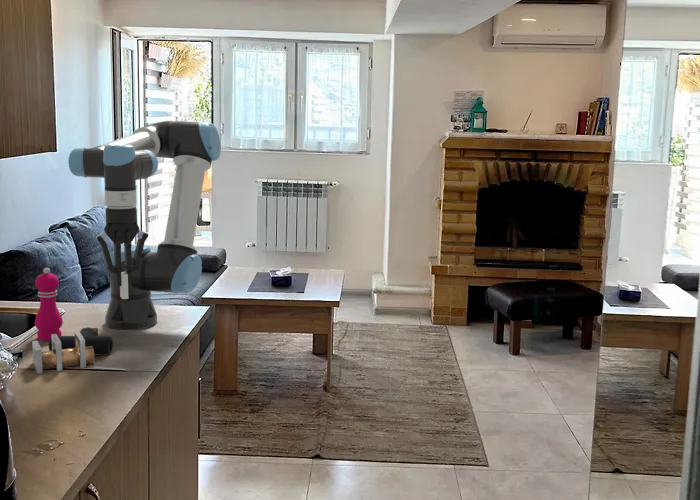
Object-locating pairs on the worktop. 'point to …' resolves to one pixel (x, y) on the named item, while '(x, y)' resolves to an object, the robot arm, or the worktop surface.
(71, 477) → the worktop surface
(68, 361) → the tube
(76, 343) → the grey slatted rack
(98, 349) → the pipe connector
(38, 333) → the pepper mill
